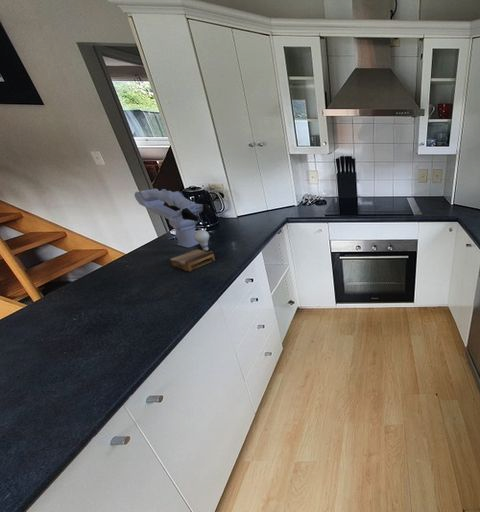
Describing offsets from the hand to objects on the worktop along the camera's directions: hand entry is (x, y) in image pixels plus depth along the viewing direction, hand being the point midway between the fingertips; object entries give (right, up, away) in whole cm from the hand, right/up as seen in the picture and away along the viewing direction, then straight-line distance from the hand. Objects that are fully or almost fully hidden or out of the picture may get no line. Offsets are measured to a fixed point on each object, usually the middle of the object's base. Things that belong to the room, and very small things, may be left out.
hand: (205, 217), depth 128 cm
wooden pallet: (-3, -21, -3) cm, 22 cm away
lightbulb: (-5, -16, +9) cm, 19 cm away
